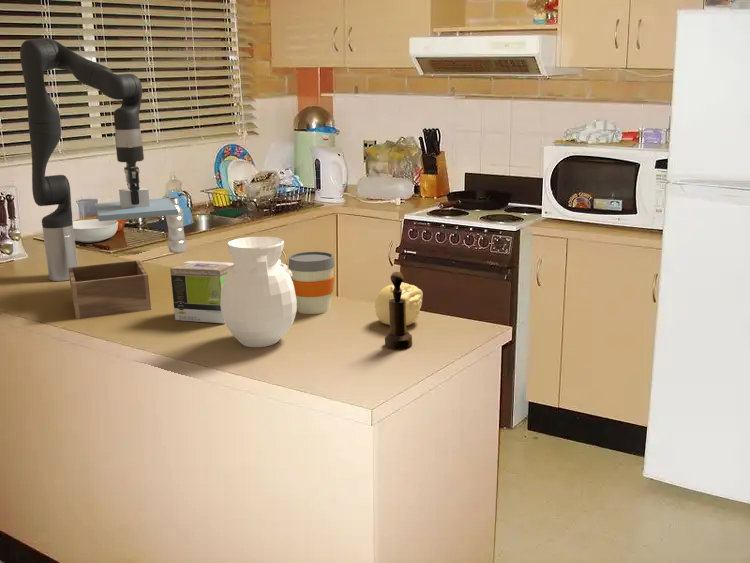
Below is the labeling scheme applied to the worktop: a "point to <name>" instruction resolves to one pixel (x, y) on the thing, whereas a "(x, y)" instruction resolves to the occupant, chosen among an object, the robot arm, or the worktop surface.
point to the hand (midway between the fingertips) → (134, 202)
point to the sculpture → (408, 293)
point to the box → (109, 289)
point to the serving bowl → (94, 230)
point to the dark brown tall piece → (397, 317)
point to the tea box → (198, 290)
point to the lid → (135, 207)
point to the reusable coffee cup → (312, 281)
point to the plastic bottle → (176, 229)
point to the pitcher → (258, 292)
